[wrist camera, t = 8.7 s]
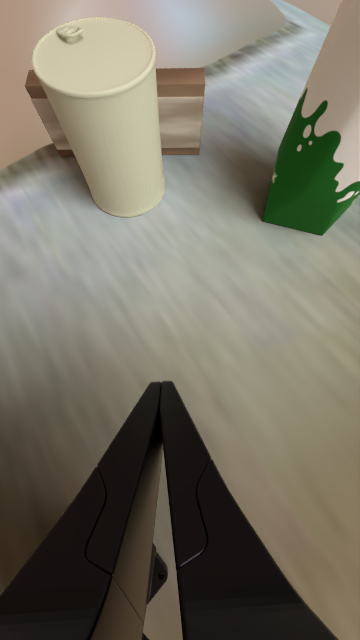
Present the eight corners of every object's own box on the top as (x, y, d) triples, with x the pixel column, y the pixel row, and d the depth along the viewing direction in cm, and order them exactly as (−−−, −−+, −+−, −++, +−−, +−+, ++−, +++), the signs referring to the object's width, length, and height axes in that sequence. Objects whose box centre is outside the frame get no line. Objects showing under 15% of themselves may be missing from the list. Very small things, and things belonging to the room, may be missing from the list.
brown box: (198, 155, 29) (205, 85, 22) (61, 157, 28) (24, 87, 22) (197, 140, 29) (203, 68, 23) (63, 142, 29) (29, 70, 22)
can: (130, 148, 29) (98, -8, 17) (180, 186, 27) (182, 41, 16) (76, 188, 27) (-1, 43, 15) (126, 231, 25) (82, 104, 14)
